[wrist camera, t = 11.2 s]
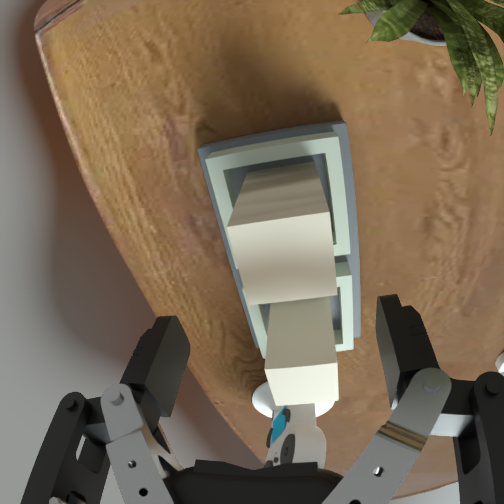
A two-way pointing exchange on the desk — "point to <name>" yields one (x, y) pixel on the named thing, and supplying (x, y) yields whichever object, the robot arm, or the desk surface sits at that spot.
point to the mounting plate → (500, 363)
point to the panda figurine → (292, 429)
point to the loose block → (283, 235)
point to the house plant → (447, 36)
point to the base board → (345, 254)
